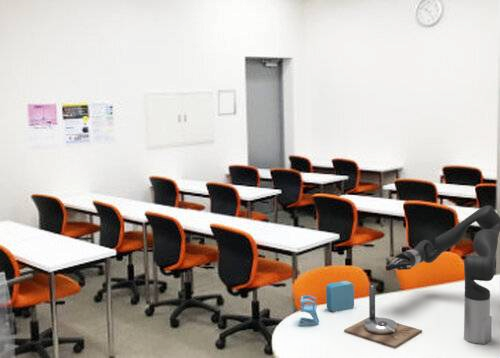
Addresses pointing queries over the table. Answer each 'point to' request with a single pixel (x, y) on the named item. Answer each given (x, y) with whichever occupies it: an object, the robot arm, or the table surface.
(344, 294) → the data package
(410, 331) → the base plate
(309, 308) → the chair
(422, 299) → the table surface
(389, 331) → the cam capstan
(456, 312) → the table surface
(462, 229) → the robot arm
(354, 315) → the table surface
